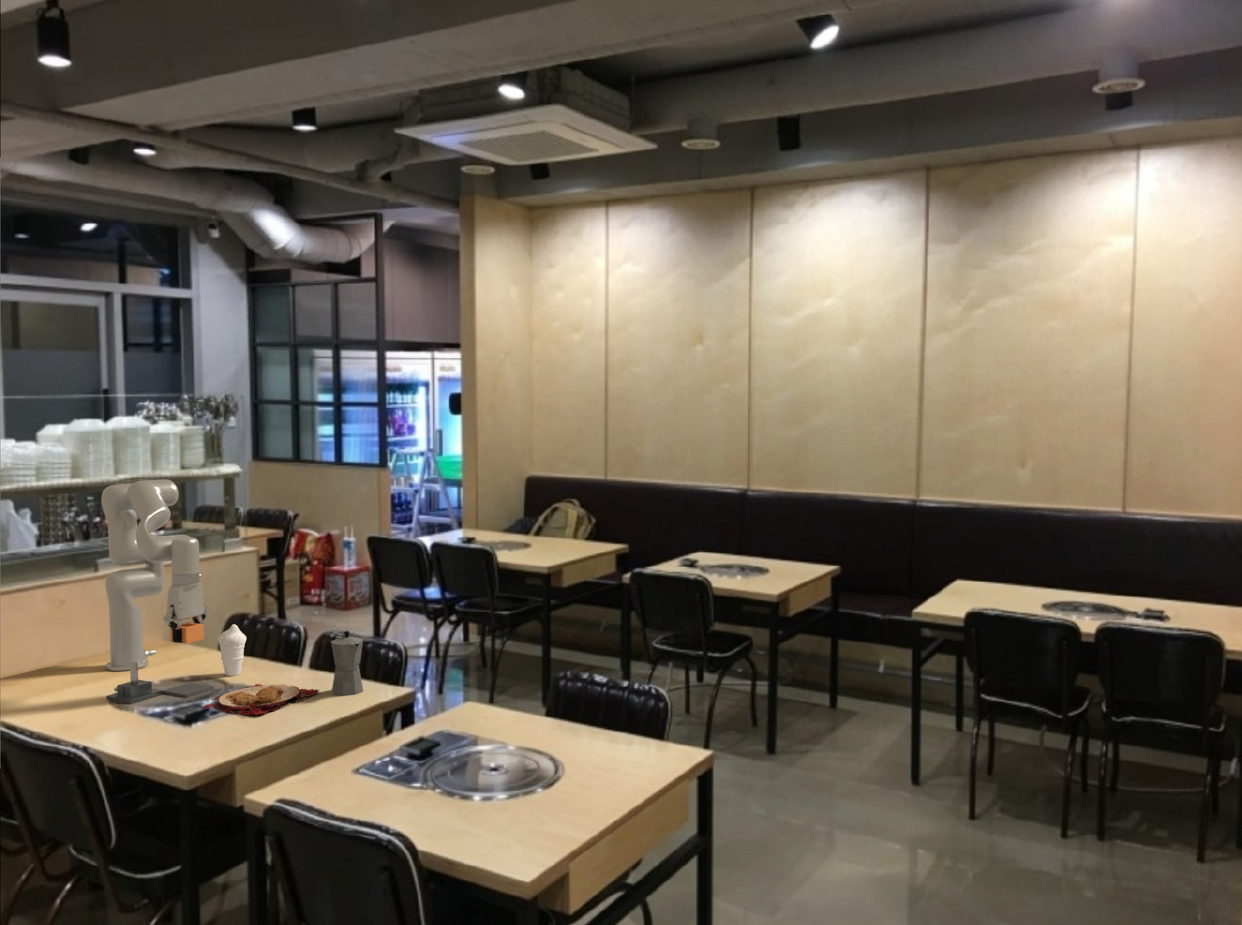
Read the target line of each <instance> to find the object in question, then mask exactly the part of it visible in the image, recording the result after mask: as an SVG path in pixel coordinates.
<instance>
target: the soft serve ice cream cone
mask: <svg viewBox="0 0 1242 925" xmlns="http://www.w3.org/2000/svg"><path fill="white" fill-rule="evenodd" d="M217 641H218V645H219V649H220V655H221V656H220V657H221V658H220V659H221V661H222V665H223V669H224V674H225V676H226V677H235V676H238V675H240V674H241V671H242V665H243V659H244V653H245V652H244V651H245V649H244V648H245V644H246V641H247V636H246V635H245V634H244V633H243V632H242V631H241V630H240V628H239V627H238V625H236V624H232V625H231V626H229V628H228V629H225V631H223V632H222V633H220V635H219V637H218V639H217Z"/></svg>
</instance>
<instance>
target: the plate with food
mask: <svg viewBox="0 0 1242 925" xmlns="http://www.w3.org/2000/svg"><path fill="white" fill-rule="evenodd" d="M319 692H320V689H317V688H315V689H314V688H311V689H306V688H304V689H303V687H302V688H301V689H300V688H299V687H298V686H297V687H296V685H295V686H293V685H291V686H290V685H287V684H269V685H268V684H267V685H266V684H265V685H264V684H259V683H256V684H254V685H253V686H249V687H243V688H239V689H236V690H230V691H228V692H225V693H224V694H222V695H220V696H216V698H215V699H213V701H212V702H211V703H209V704H205V705H204V706H202V707H201V708H202V709H210V708H211V707H212V708H213V709H215V708H218V710H217V712H218V711H219V710H220V713H225V714H234V713H235V711H234V710H236V712H237V713H239V714H240V715H243V716H247V715H248V716H249V715H251V716H253V715H255V716H259V715H260V716H261V715H265V714H267V713H268V712H270V711H271V712H275V711H277V709H280V708H282V707H285V706H286V705H287V706H290V705H291V703H290V702H287V701H288V700H290V699H293V698H296V699H297V700H296V701H295V703H296V702H300V701H305V700H306V699H307V698H308V697H311V696H313V695H316V694H317V693H319ZM214 700H215V701H214ZM216 702H217V704H216ZM285 702H287V703H285ZM214 703H215V704H216V705H215V704H214ZM222 709H224V710H223V711H222ZM247 709H249V711H248V710H247Z"/></svg>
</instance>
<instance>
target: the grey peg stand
mask: <svg viewBox="0 0 1242 925" xmlns="http://www.w3.org/2000/svg"><path fill="white" fill-rule="evenodd" d="M129 671H130V673H129V674H130V681H127V682H125V683H121V684H118V685H116V687H114V689H113V691H115V693H111V694H108V695H105V701H110V702H116V703H120V704H121V703H122V704H123V703H124V704H127V705H132V704H136V703H139V702H141V701H142V702H143V701H145V700H149V699H152V698H155V697H159V696H161V695H164V694H163V690H162V689H157V688H153V686H152V681H149V680H143V679H139V668H138V662H132V663H130V670H129Z"/></svg>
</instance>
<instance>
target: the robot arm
mask: <svg viewBox="0 0 1242 925" xmlns="http://www.w3.org/2000/svg"><path fill="white" fill-rule="evenodd" d="M179 494H180V493H179V488H178V486H177V485H176V483H175V482H173V481H172V480H171V479H167V478H166V479H165V478H164V479H163V478H162V479H145V480H138V481H135V482H131V483H130V482H129V483H118V484H117V483H116V484H112V485H108V486H107V487H105V489H103V491H102V494H101V508H102V510H103V514H104V516H105V519H106V521H107V522H106V523H107V532H108V534H107V535H108V553H109V560H110V562H111V564H113V565H115V566H119V567H120V566H121V567H122V566H132V565H133V566H134V565H142V564H144V565H145V567H138V568H127V569H126V568H125V569H119V570H115V571H113V572H110V573H109V574H108V575H107V576H106V578H105V582H104V584H105V591H106V597H107V602H108V610H109V611H108V614H109V646H110V647H109V649H110V651H109V652H110V653H109V654H110V657H109V658H110V661H109V662H108V663H106V664H105V669H106V670H107V671H114V672H115V671H116V672H118V671H119V672H122V671H130V663H132V662H138V669H142V668H145V667H146V666H148V665H149V659H147V658H148V657H151V656H155V655H156V652H157V651H156V650H155V649H148V650H147V649H144V642H143V641H144V640H143V638H144V637H143V636H144V634H143V632H144V631H143V611H142V609H141V607H140V605H138V604H137V603H136V602H135V600H134V599H138V598H146V597H153V596H157V595H161V593H162V592H163V591H164V588H165V562H170V561H171V585H169V589H168V592H167V593H168V594H167V602H166V603H167V604H166V613H165V615H164V616H163V621H164V622H165V624H166V625H168V626H169V629H170V628H171V629H172V633H173V642H172V643H176V644H177V643H178V644H183V643H182V629H180V627H181V624H183V621H184V620H187V619H191V620H192V623H198V624H204V621H205V619H206V617H207V615H208V613H209V612H210V608H209V607H208V606H206V604H205V599H204V598H205V597H204V589H203V586H202V582H201V581H200V580H201V579H200V578H202V574H201V571H200V543H199V540H198V539H197V538H196V537H191V536H189V535H188V534H173V535H172V534H171V535H159V536H157V534H153V532H155V531H156V530H159V529H160V528H162V527H164V526H165V525H166V524H167V523H168V522H169V521H170V519H171V516H172V515H171V514H172V513H171V511H170V508H169V507H171V506H174V505H175V504H176V503H177V502H178V500H179ZM132 510H134V511H135V512H136V514H137V516H138V517H139V520H140V521H139V523H138V521H137V518H136V517H135V515H133V513H132V512H131V511H132Z"/></svg>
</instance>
